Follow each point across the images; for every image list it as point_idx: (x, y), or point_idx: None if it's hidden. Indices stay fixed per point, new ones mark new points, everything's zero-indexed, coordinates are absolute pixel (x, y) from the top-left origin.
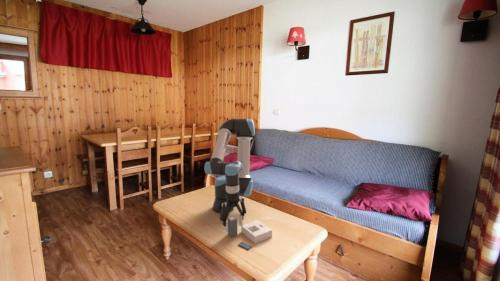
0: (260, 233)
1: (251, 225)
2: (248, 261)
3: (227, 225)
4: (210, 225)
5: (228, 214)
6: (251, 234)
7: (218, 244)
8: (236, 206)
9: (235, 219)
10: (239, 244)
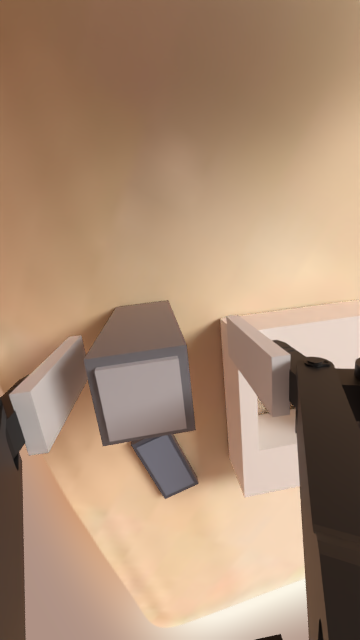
0: (295, 478)
1: None
2: (129, 554)
3: (66, 411)
4: (9, 72)
5: (17, 553)
6: (240, 459)
7: None
8: (313, 601)
9: (174, 426)
10: (140, 450)
